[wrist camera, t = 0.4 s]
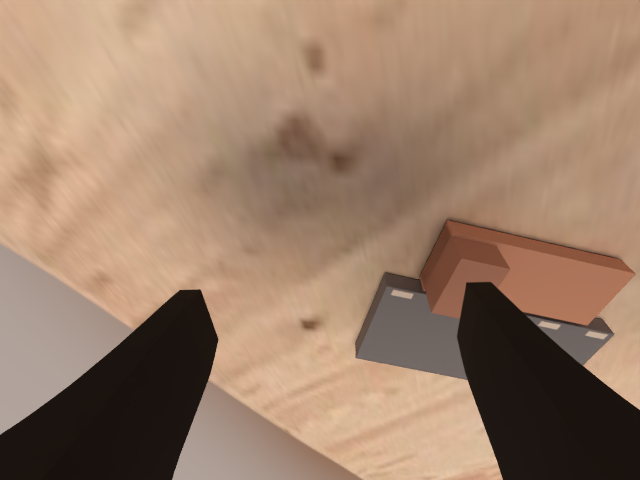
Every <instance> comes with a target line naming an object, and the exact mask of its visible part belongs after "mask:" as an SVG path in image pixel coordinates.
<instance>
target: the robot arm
mask: <svg viewBox="0 0 640 480" xmlns="http://www.w3.org/2000/svg"><path fill="white" fill-rule="evenodd" d="M457 340H458V344H459V349H460V353H461V358H462V362H463V366H464V370H465V374H466V377H467V379H468V382H469V385H470V388H471V391H472V393H473V396H474V399H475V402H476V405H477V407H478V410H479V413H480V415H481V418H482V421H483V424H484V426H485V429H486V432H487V435H488V437H489V440H490V443H491V446H492V448H493V451H494V454H495V457H496V459H497V462H498V465H499V468H500V472H501V475H502V478H503V480H640V410H639V409H638V408H636V407H635V406H633V405H632V404H631V403H629V402H628V401H627V400H625V399H624V398H623V397H621V396H620V395H619V394H617V393H616V392H615V391H613V390H612V389H611V388H610V387H608V386H607V385H606V384H604V383H603V382H602V381H601V380H600V379H598V378H597V377H596V376H595V375H593V374H592V373H591V372H590V371H588V370H587V369H586V368H585V367H584V366H582V365H581V364H580V363H579V362H577V361H576V360H575V359H574V358H573V357H572V356H570V355H569V354H568V353H567V352H566V351H565V350H563V349H562V348H561V347H560V346H559V345H558V344H557V343H556V342H554V341H553V340H552V339H551V338H550V337H549V336H548V335H547V334H546V333H544V332H543V331H542V330H541V329H540V328H539V327H538V326H537V325H536V324H535V323H534V322H533V321H531V320H530V319H529V318H528V317H527V316H526V315H525V314H524V313H523V312H522V311H521V310H520V309H519V308H518V307H517V306H516V305H515V304H514V303H513V302H511V301H510V300H509V299H508V298H507V297H506V296H505V295H504V294H503V293H502V292H501V291H500V290H499V289H498V288H497V287H496V286H495V285H494V284H493V283H492V282H466V288H465V293H464V299H463V304H462V310H461V315H460V321H459V327H458V332H457ZM217 343H218V337H217V334H216V331H215V329H214V326H213V323H212V320H211V317H210V314H209V312H208V309H207V306H206V303H205V300H204V298H203V295H202V292H201V290H180V291H178V292H177V293H176V294H175V295H174V296H172V297H171V298H170V299H169V300H168V301H167V302H166V303H164V304H163V305H162V306H161V307H160V308H159V309H158V310H157V311H156V312H155V313H153V314H152V315H151V316H150V317H149V318H148V319H147V320H146V321H145V322H144V323H142V324H141V325H140V326H139V327H138V328H137V329H136V330H135V331H134V332H132V333H131V334H130V335H129V336H128V337H127V338H126V339H125V340H123V341H122V342H121V343H120V344H119V345H118V346H117V347H116V348H114V349H113V350H112V351H111V352H110V353H108V354H107V355H106V356H105V357H104V358H103V359H101V360H100V361H99V362H98V363H96V364H95V365H94V366H93V367H92V368H90V369H89V370H88V371H87V372H86V373H84V374H83V375H82V376H81V377H80V378H78V379H77V380H76V381H75V382H73V383H72V384H71V385H70V386H68V387H67V388H66V389H64V390H63V391H62V392H61V393H59V394H58V395H56V396H55V397H54V398H52V399H51V400H50V401H48V402H47V403H45V404H44V405H43V406H41V407H40V408H39V409H37V410H36V411H35V412H33V413H32V414H30V415H29V416H28V417H26V418H25V419H23V420H22V421H20V422H19V423H17V424H16V425H14V426H13V427H12V428H10V429H8V430H7V431H5V432H4V433H2V434H1V435H0V480H172V478H173V474H174V471H175V468H176V465H177V462H178V459H179V456H180V453H181V451H182V448H183V445H184V443H185V440H186V437H187V435H188V432H189V430H190V427H191V424H192V422H193V419H194V416H195V413H196V411H197V408H198V406H199V403H200V401H201V398H202V395H203V392H204V390H205V387H206V384H207V382H208V379H209V376H210V373H211V369H212V365H213V361H214V357H215V352H216V348H217Z"/></svg>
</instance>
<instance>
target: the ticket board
mask: <svg viewBox="0 0 640 480" xmlns="http://www.w3.org/2000/svg"><path fill="white" fill-rule="evenodd" d="M523 313H524V314H525V315H526V316H527V317H528V318H529V319H530V320H531V321H533V322H534V323H535V324H536V325H537V326H538V327H539V328H540V329H541V330H542V331H543V332H544V333H546V334H547V335H548V336H549V337H550V338H551V339H552V340H553V341H554V342H556V343H557V344H558V345H559V346H560V347H561V348H562V349H563V350H565V351H566V352H567V353H568V354H569V355H570V356H572V357H573V358H574V359H575V360H576V361H577V362H579V363H580V364H581V365H582V366H583V365H584V364H585V363H586V362H587V361H588V360H589V359H590V358H591V357H592V356H593V355H594V354H595V353H596V352H597V351H598V350H599V349H600V348H601V347H602V346H603V345H604V344H605V343H606V342H607V341H608V340H609V339H610V338H611V337H612V336H613V335H614V333H613V332H612V331H611V329H610V328H609V327H608V326H607V324H606V323H605V322H604V321H603V319H599V318H594V319H593V320H592V321H591V322H590V323H589V324H588V326H587V325H582V324H578V323H573V322H568V321H564V320H559V319H554V318H549V317H545V316H540V315H535V314H531V313H526V312H523ZM459 321H460V319H459V318H454V317H449V316H444V315H439V314H435V313H431V310H430V307H429V303H428V299H427V296H426V292H425V291H423V288H422V285H421V281H420V280H416V279H412V278H407V277H402V276H398V275H393V274H388V273H385V274H384V277H383V279H382V281H381V284H380V286H379V289H378V291H377V293H376V296H375V298H374V300H373V303H372V305H371V308H370V310H369V312H368V315H367V317H366V320H365V322H364V324H363V327H362V329H361V331H360V334H359V336H358V339H357V341H356V343H355V348H356V358H358V359H363V360H368V361H374V362H379V363H384V364H389V365H394V366H399V367H404V368H409V369H415V370H420V371H425V372H430V373H435V374H440V375H445V376H450V377H456V378H461V379H466V380H468V379H467V377H466V374H465V370H464V366H463V362H462V358H461V353H460V349H459V344H458V340H457V332H458V327H459Z"/></svg>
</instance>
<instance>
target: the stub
mask: <svg viewBox="0 0 640 480" xmlns="http://www.w3.org/2000/svg"><path fill="white" fill-rule="evenodd" d="M635 274H636V273H635V272H633V271H632V270H631V269H630V268H629V267H628V266H627V265H626V264H625V263H624V262H623V261H622V260H620V259H615V258H611V257H606V256H602V255H598V254H593V253H589V252H584V251H580V250H576V249H571V248H567V247H563V246H558V245H554V244H549V243H545V242H541V241H536V240H532V239H527V238H523V237H519V236H514V235H510V234H505V233H501V232H497V231H492V230H488V229H483V228H479V227H475V226H470V225H466V224H461V223H457V222H453V221H448V220H447V222H446V224H445V226H444V228H443V231H442V233H441V235H440V237H439V239H438V241H437V243H436V245H435V247H434V249H433V251H432V253H431V255H430V257H429V259H428V261H427V263H426V265H425V267H424V269H423V271H422V273H421V275H420V281H421V285H422V288H423V291H425V292H426V296H427V299H428V303H429V307H430V310H431V313H435V314H439V315H444V316H449V317H454V318H459V319H460V315H461V310H462V304H463V299H464V293H465V288H466V282H492V283H493V284H494V285H495V286H496V287H497V288H498V289H499V290H500V291H501V292H502V293H503V294H504V295H505V296H506V297H507V298H508V299H509V300H510V301H511V302H513V303H514V304H515V305H516V306H517V307H518V308H519V309H520V310H521V311H522V312H526V313H531V314H535V315H540V316H545V317H549V318H554V319H559V320H564V321H568V322H573V323H578V324H582V325H587V326H588V324H589V323H590V322H591V321H592V320H593V319H594V318H595V317H596V316H597V315H598V314H599V313H600V312H601V311H602V309H603V308H604V307H605V306H606V305H607V304H608V303H609V302H610V301H611V300H612V299H613V298H614V297H615V296H616V294H617V293H618V292H619V291H620V290H621V289H622V288H623V287H624V286H625V285H626V284H627V283H628V282H629V281H630V279H631V278H632V277H633V276H634V275H635Z"/></svg>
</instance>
